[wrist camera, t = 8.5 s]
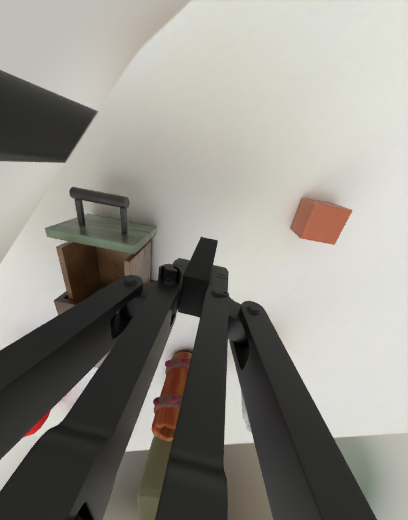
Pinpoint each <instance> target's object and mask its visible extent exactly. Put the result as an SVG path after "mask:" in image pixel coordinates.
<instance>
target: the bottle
mask: <svg viewBox="0 0 408 520" xmlns="http://www.w3.org/2000/svg"><path fill="white" fill-rule="evenodd" d="M172 442H173V440H171V441H165V440H163V439H159V438H158V435H156V436H155V435H154V437H153V440H152V444H151V447H150V450H149V454H148V458H147V461H146V464H145V467H144V471H143V474H142V478H141V481H140V484H139V488H138V491H137V498H136V499H137V504H138V508H139V513H140V519H141V520H155V517H156V512H157V508H158V504H159V499H160V495H161V490H162V486H163V481H164V477H165V472H166V468H167V464H168V459H169V455H170V450H171V446H172Z"/></svg>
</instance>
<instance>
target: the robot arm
mask: <svg viewBox="0 0 408 520" xmlns="http://www.w3.org/2000/svg"><path fill="white" fill-rule="evenodd" d="M217 243H218V241H217V240H213V239H208V238H203V237H201V239H200V241H199V243H198V245H197V247H196V249H195V251H194V253H193V255H192V258H191V260H186V259H181V258H179V259H177V260H175V261H174V263H173V264H165V265H162V266H160V267H159V275H158V281H157V282H156V283H143V280H142V278H141V277H139V276H136V275H127V276H123V277H121V278H119V279H118V280H116V281H114V282H113V283H111V284H109V285H108V286H106V287H104V288H103V289H101V290H99V291H98V292H96V293H95V294H93V295H91V296H90V297H88V298H86V299H85V300H83V301H81V302H80V303H78V304H76V305H75V306H73V307H71V308H70V309H68V310H66V311H65V312H63V313H62V314H60V315H58V316H57V317H55V318H53V319H52V320H50V321H48V322H47V323H45V324H43V325H42V326H40V327H38V328H37V329H35V330H33V331H32V332H30V333H29V334H27V335H25V336H24V337H22V338H20V339H19V340H17V341H15V342H14V343H12V344H10V345H9V346H7V347H5V348H4V349H2V350H1V351H0V459H1V458H2V457H3V456H4V455H5V454H6V453H8V452H9V451H10V450H11V448H13V447H14V445H16V443H18V442H19V441H20V440H21V438H23V437H24V436H25V435H26V434H27V433H28V432H29V431H30V430H31V429H32V428H33V427H34V426H35V425H36V424H37V423H38V422H39V421H40V420H41V419H42V418H43V417H44V416H45V415H46V414H47V413H48V412H49V411H50V410H51V409H52V408H53V407H54V406H55V405H56V404H57V403H58V402H59V401H60V400H61V399H62V398H63V397H64V396H65V395H66V394H67V393H68V392H69V391H70V390H71V389H72V388H73V387H74V386H75V385H76V384H77V383H78V382H79V381H80V380H81V379H82V378H83V377H84V376H85V375H86V374H87V373H88V372H89V371H90V370H91V369H92V368H93V367H94V366H95V365H96V364H97V363H98V362H99V361H100V360H101V359H102V358H103V357H104V356H105V355H106V354H107V353H108V352H109V351H110V350H111V351H110V352H109V353H108V355H107V356H106V358H105V359H104V361H103V362H102V364H101V365H100V367H99V368H98V370H97V371H96V373H95V374H94V376H93V377H92V379H91V380H90V382H89V383H88V385H87V386H86V388H85V389H84V391H83V392H82V394H81V395H80V397H79V398H78V399H77V401H76V402H75V404H74V405H73V407H72V408H71V410H70V411H69V413H68V414H67V416H66V417H65V418H64V420H63V421H62V422H61V423H60V424H59V425H57V426H55V427H53V428H51V429H49V430H48V431H47V432H45V433H44V434H43V435H42V436H41V437H40V439H39V440H38V441H37V442H36V443H35V445H34V446H33V447H32V448H31V450H30V451H29V452H28V454H27V455H26V456H25V458H24V459H23V461H22V462H21V463H20V465H19V466H18V468H17V469H16V470H15V472H14V473H13V474H12V476H11V477H10V479H9V480H8V482H7V483H6V484H5V486H4V487H3V489H2V490H1V491H0V520H102V519H103V516H104V513H105V511H106V508H107V505H108V502H109V499H110V496H111V493H112V489H113V486H114V482H115V477H116V474H117V471H118V468H119V465H120V463H121V460H122V458H123V455H124V452H125V450H126V447H127V445H128V442H129V439H130V437H131V434H132V432H133V429H134V426H135V424H136V421H137V418H138V416H139V413H140V411H141V408H142V405H143V403H144V400H145V397H146V395H147V392H148V390H149V387H150V384H151V382H152V379H153V376H154V374H155V371H156V369H157V366H158V363H159V361H160V358H161V356H162V353H163V350H164V348H165V345H166V342H167V340H168V337H169V335H170V332H171V329H172V327H173V324H174V321H175V319H176V313H177V310H178V312H180V313H184V314H189V315H193V316H197V317H200V322H199V326H198V330H197V335H196V339H195V344H194V348H193V353H192V357H191V362H190V366H189V370H188V375H187V379H186V384H185V388H184V393H183V397H182V402H181V406H180V410H179V415H178V419H177V424H176V428H175V433H174V437H173V442H172V446H171V450H170V455H169V459H168V464H167V468H166V472H165V477H164V481H163V486H162V490H161V495H160V499H159V504H158V508H157V512H156V517H155V520H227V508H228V507H227V505H228V504H227V480H226V476H225V472H224V465H223V454H224V428H225V400H226V372H227V343H228V339H230V346H231V350H232V354H233V358H234V362H235V366H236V370H237V374H238V378H239V382H240V386H241V390H242V394H243V398H244V403H245V407H246V411H247V415H248V419H249V423H250V427H251V431H252V435H253V439H254V443H255V447H256V451H257V455H258V459H259V463H260V467H261V471H262V475H263V479H264V483H265V488H266V491H267V496H268V499H269V504H270V507H271V512H272V516H273V520H377V519H376V517H375V515H374V513H373V511H372V510H371V508H370V506H369V504H368V502H367V500H366V498H365V497H364V495H363V493H362V491H361V489H360V487H359V485H358V483H357V481H356V480H355V478H354V476H353V474H352V472H351V470H350V468H349V467H348V465H347V463H346V461H345V459H344V457H343V455H342V453H341V452H340V450H339V448H338V446H337V444H336V442H335V440H334V438H333V437H332V435H331V433H330V431H329V429H328V427H327V425H326V423H325V422H324V420H323V418H322V416H321V414H320V412H319V410H318V409H317V407H316V405H315V403H314V401H313V399H312V397H311V395H310V394H309V392H308V390H307V388H306V386H305V384H304V382H303V380H302V379H301V377H300V375H299V373H298V371H297V369H296V367H295V366H294V364H293V362H292V360H291V358H290V356H289V354H288V352H287V351H286V349H285V347H284V345H283V343H282V341H281V339H280V337H279V336H278V334H277V332H276V330H275V328H274V326H273V324H272V323H271V321H270V319H269V317H268V315H267V313H266V311H265V310H264V308H263V307H262V306H260V305H259V304H257V303H255V302H252V301H245V302H243V303H242V305H241V304H239V303H237V302H235V301H233V300H232V299H231V298H230V297H229V293H228V271H227V269H226V268H224V267H219V266H215V265H213V262H214V257H215V252H216V248H217Z"/></svg>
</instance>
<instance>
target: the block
mask: <svg viewBox="0 0 408 520" xmlns="http://www.w3.org/2000/svg"><path fill="white" fill-rule="evenodd" d="M351 212H352V210H350V209H347V208H345V207H342V206H339V205H336V204H333V203H327V202H322V201H316V200H311V199H305V198H302V199H301V202H300V204H299V207H298V209H297V212H296V215H295V217H294V220H293V222H292V225H291V227H290V228H291V229H292V230H293V231H294V232H295V233H296V234H297V235H298V236H299V237H300V238H302V239H307V240H312V241H318V242H323V243H328V244H335V243H336V241H337V239H338V237H339V235H340V233H341V231H342V229H343V227H344V226H345V224H346V222H347V220H348V218H349V216H350V214H351Z"/></svg>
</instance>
